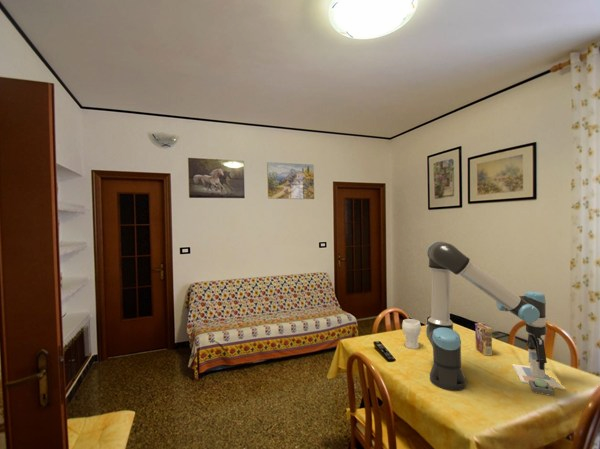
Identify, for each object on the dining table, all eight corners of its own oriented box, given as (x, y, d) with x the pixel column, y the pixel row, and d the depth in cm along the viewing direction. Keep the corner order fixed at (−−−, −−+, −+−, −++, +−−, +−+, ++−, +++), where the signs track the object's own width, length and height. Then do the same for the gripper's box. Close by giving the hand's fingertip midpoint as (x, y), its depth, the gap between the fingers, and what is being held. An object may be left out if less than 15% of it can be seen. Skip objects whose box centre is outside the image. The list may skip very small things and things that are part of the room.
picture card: (521, 382, 135) (521, 380, 135) (512, 365, 151) (512, 363, 151) (566, 389, 128) (566, 388, 128) (551, 370, 145) (551, 369, 145)
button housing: (533, 392, 127) (533, 387, 127) (528, 384, 134) (528, 379, 134) (553, 395, 124) (553, 391, 124) (547, 387, 131) (547, 382, 131)
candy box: (493, 355, 162) (492, 328, 163) (485, 356, 162) (484, 328, 162) (482, 348, 171) (481, 322, 171) (475, 349, 171) (474, 323, 171)
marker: (532, 376, 139) (532, 355, 139) (530, 372, 143) (529, 351, 143) (543, 377, 137) (542, 356, 137) (540, 373, 141) (540, 353, 141)
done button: (536, 388, 128) (536, 382, 128) (533, 383, 132) (533, 377, 132) (548, 390, 126) (547, 384, 126) (544, 385, 130) (544, 379, 130)
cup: (422, 344, 179) (422, 320, 179) (419, 351, 170) (418, 325, 170) (404, 341, 185) (404, 317, 185) (400, 347, 176) (400, 322, 176)
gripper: (555, 334, 127) (556, 383, 127) (537, 317, 150) (537, 359, 150) (533, 332, 130) (534, 380, 130) (519, 316, 153) (519, 356, 153)
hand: (536, 369), depth 140 cm, fingers open, 13 cm apart
